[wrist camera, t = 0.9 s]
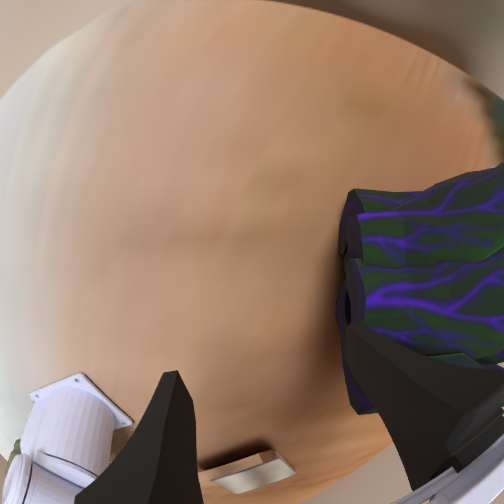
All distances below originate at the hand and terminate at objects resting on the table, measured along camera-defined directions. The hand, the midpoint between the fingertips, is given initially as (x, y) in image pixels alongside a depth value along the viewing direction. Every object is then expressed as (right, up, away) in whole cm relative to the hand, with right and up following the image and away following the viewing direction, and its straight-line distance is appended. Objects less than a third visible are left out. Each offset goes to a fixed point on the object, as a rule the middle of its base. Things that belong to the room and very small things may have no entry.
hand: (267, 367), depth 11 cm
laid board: (0, -26, +20) cm, 33 cm away
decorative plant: (+17, +5, +14) cm, 22 cm away
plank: (-3, -20, +15) cm, 25 cm away
